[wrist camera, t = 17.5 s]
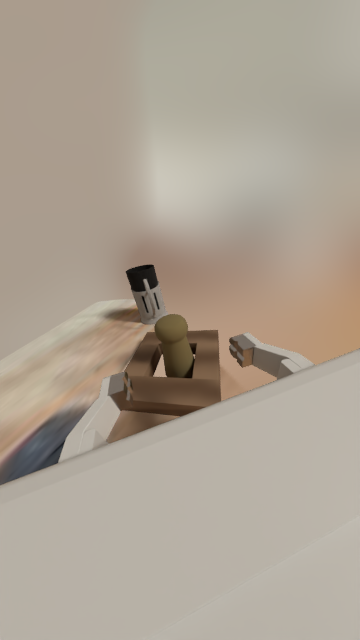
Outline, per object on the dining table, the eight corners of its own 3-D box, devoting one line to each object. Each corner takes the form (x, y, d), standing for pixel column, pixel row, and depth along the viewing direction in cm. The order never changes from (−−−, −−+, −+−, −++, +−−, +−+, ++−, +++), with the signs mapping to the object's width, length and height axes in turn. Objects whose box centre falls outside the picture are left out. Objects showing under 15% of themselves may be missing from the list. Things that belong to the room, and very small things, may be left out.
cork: (193, 385, 25) (182, 331, 20) (160, 379, 27) (141, 330, 22) (200, 358, 30) (192, 309, 24) (171, 355, 32) (159, 309, 26)
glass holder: (164, 307, 53) (152, 262, 45) (176, 327, 41) (164, 270, 33) (139, 315, 51) (123, 269, 43) (144, 338, 39) (123, 281, 31)
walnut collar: (221, 420, 20) (221, 408, 18) (116, 409, 24) (108, 398, 22) (218, 341, 33) (217, 330, 32) (150, 342, 37) (147, 332, 36)
